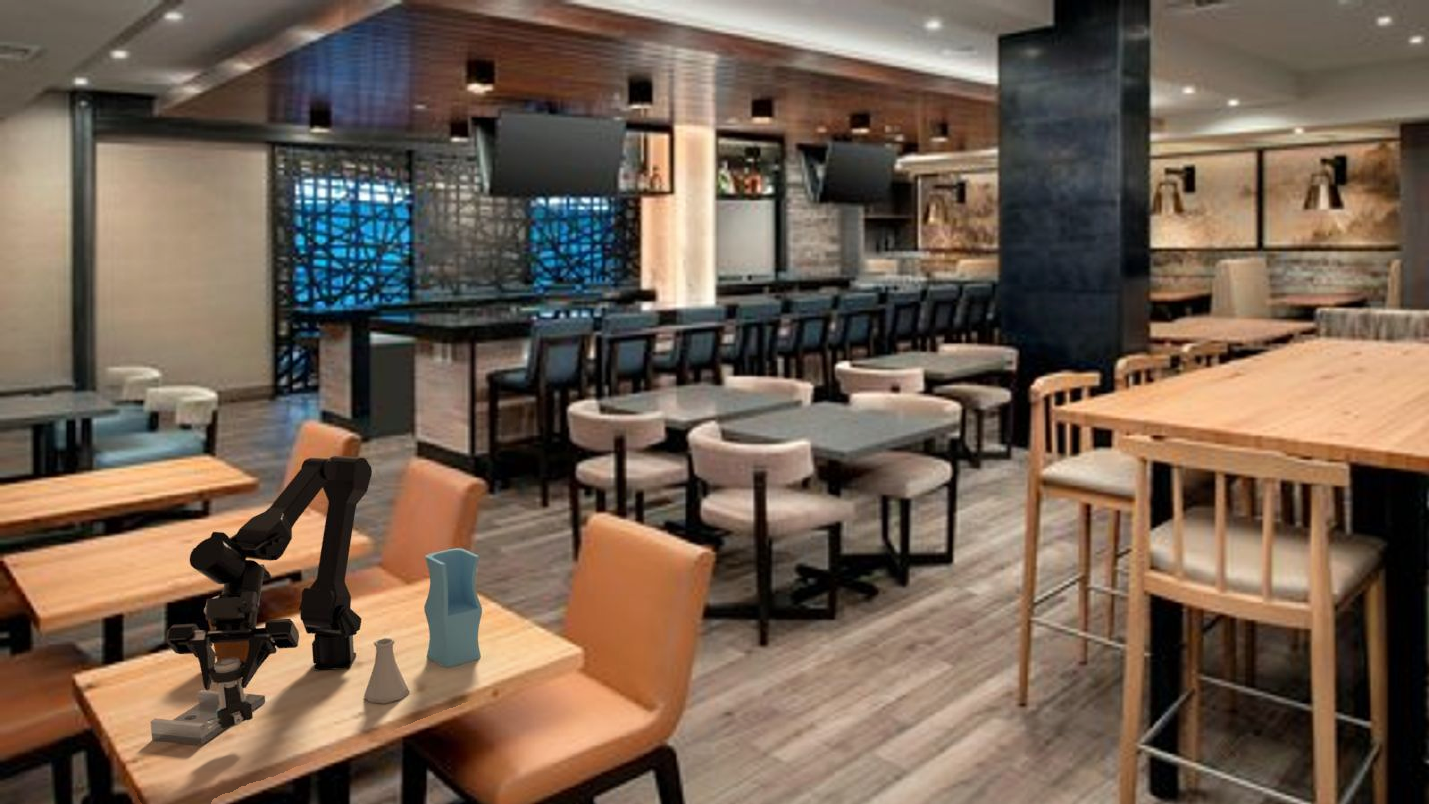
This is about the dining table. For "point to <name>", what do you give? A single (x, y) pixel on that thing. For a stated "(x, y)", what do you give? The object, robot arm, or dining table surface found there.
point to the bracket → (196, 721)
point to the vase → (453, 607)
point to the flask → (385, 675)
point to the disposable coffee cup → (230, 647)
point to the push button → (230, 693)
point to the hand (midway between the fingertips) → (224, 688)
